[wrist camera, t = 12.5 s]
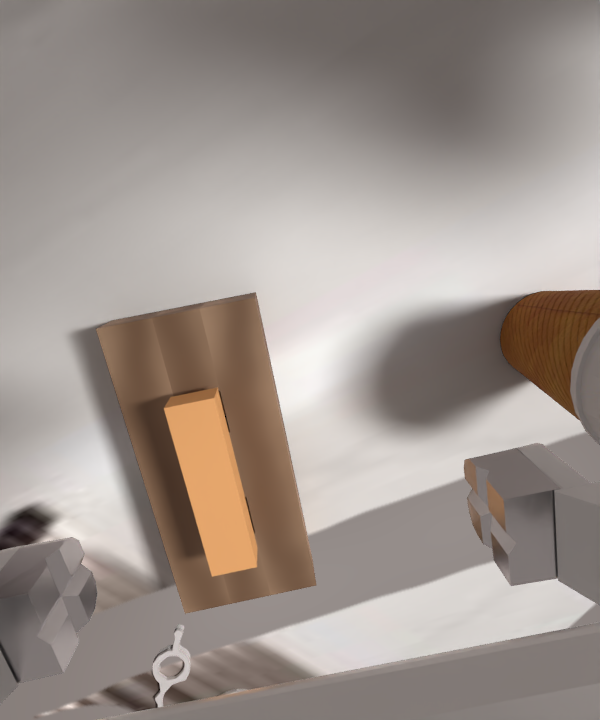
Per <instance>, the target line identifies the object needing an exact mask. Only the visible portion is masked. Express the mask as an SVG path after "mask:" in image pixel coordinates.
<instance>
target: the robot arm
mask: <svg viewBox="0 0 600 720" xmlns="http://www.w3.org/2000/svg"><path fill="white" fill-rule="evenodd" d="M464 473H465V479H466V480H467V482H468V483H469V484H470V486H471V487H472V490H471V491H470V493H469V495H468V497H467V500H468V508H469V513H470V516H471V520H472V523H473V526H474V528H475V530H476V533H477V535H478V536H479V538H480V540H481V541H482V543H483V544H485V545H486V546H488V547H491V548H492V549H493V558H494V561H495V563H496V564H497V566H498V567H499V569H500V570H501V572H502V573H503V575H504V576H505V578H506V579H507V581H508V582H509V584H510V585H511V586H514V585H520V584H526V583H532V582H538V581H544V580H550V579H556V578H558V581H560V582H562V583H563V584H565V585H567V586H568V587H570V588H572V589H573V590H575V591H577V592H578V593H580V594H582V595H583V596H585V597H587V598H588V599H590V600H592V601H593V602H595V603H597V604H598V605H600V482H595V483H591V482H589V481H588V480H587V479H585V478H584V477H583V476H582V475H581V474H579V473H578V472H577V471H575V470H574V469H573V468H572V467H571V466H569V465H568V464H567V463H565V462H564V461H563V460H561V459H560V458H559V457H558V456H557V455H555V454H554V453H553V452H552V451H550V450H549V449H548V448H547V447H545V446H544V445H543V444H539V443H535V444H531V445H526V446H522V447H518V448H514V449H510V450H505V451H501V452H497V453H492V454H488V455H483V456H479V457H474V458H470V459H466V460H465V462H464ZM84 555H85V553H84V551H83V549H82V546H81V544H80V542H79V540H77V539H75V538H73V537H70V538H64V539H59V540H53V541H47V542H42V543H36V544H30V545H26V546H19V547H14V548H9V549H5V550H2V551H0V704H1V703H2V702H3V701H4V700H5V699H6V698H7V697H8V696H9V695H10V694H11V693H12V692H13V691H14V690H15V689H16V688H17V686H18V683H22V682H26V681H31V680H35V679H40V678H44V677H49V676H53V675H57V674H62V673H64V671H65V669H66V667H67V665H68V663H69V661H70V659H71V657H72V655H73V653H74V651H75V649H76V647H77V645H78V643H79V638H78V635H77V632H78V631H79V630H80V629H81V628H82V627H84V625H86V624H87V623H88V622H89V621H90V619H91V616H92V614H93V612H94V610H95V606H96V599H97V588H96V581H95V579H94V576H93V573H92V571H90V570H89V569H88V568H86V567H85V566H83V565H82V564H81V563H82V560H83V557H84ZM96 720H600V622H598V623H593V624H588V625H583V626H578V627H573V628H568V629H562V630H557V631H552V632H547V633H542V634H536V635H531V636H526V637H521V638H516V639H511V640H505V641H500V642H495V643H490V644H485V645H479V646H474V647H469V648H464V649H459V650H453V651H448V652H443V653H438V654H433V655H427V656H422V657H417V658H412V659H407V660H401V661H396V662H391V663H386V664H381V665H375V666H370V667H365V668H360V669H355V670H350V671H344V672H339V673H334V674H329V675H324V676H318V677H313V678H308V679H303V680H298V681H293V682H288V683H282V684H277V685H272V686H267V687H262V688H257V689H252V690H247V691H241V692H236V693H231V694H226V695H221V696H216V697H211V698H205V699H200V700H195V701H190V702H185V703H180V704H174V705H169V706H164V707H159V708H154V709H148V710H143V711H138V712H133V713H128V714H123V715H118V716H112V717H107V718H102V719H96Z"/></svg>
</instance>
